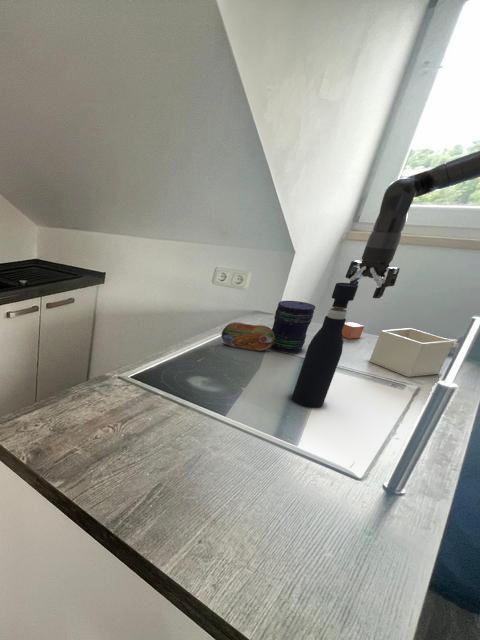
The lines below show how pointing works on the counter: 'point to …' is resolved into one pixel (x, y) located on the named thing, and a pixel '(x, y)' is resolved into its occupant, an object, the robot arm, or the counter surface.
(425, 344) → the bin
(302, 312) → the storage jar
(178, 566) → the counter surface
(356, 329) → the block
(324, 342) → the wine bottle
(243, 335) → the tin
